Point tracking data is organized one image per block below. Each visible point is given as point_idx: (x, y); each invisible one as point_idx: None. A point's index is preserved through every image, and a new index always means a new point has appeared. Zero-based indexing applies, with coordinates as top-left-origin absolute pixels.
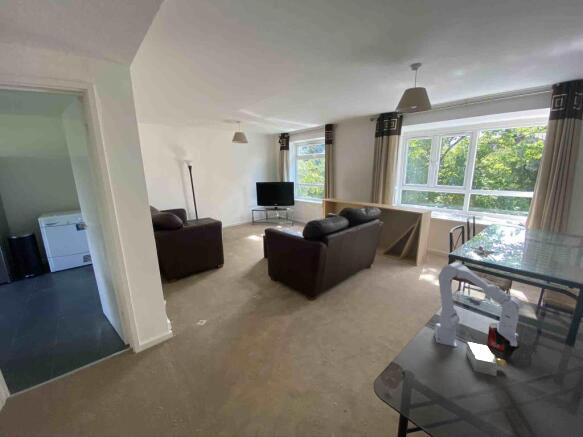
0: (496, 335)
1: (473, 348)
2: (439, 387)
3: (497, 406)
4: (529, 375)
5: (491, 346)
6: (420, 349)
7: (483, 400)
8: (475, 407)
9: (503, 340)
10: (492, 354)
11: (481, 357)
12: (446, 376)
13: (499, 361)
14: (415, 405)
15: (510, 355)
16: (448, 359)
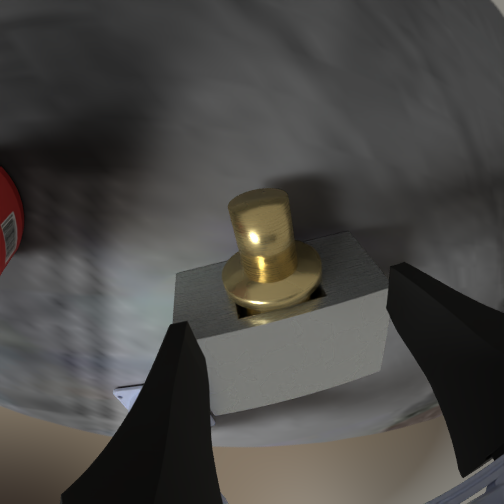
0: (215, 474)
1: (276, 394)
2: None
3: (493, 242)
4: (210, 23)
5: (20, 239)
6: (296, 433)
7: (479, 277)
8: (495, 292)
9: (477, 468)
10: (267, 309)
11: (359, 358)
12: (407, 366)
13: (290, 248)
14: None
15: (415, 271)
16: None
